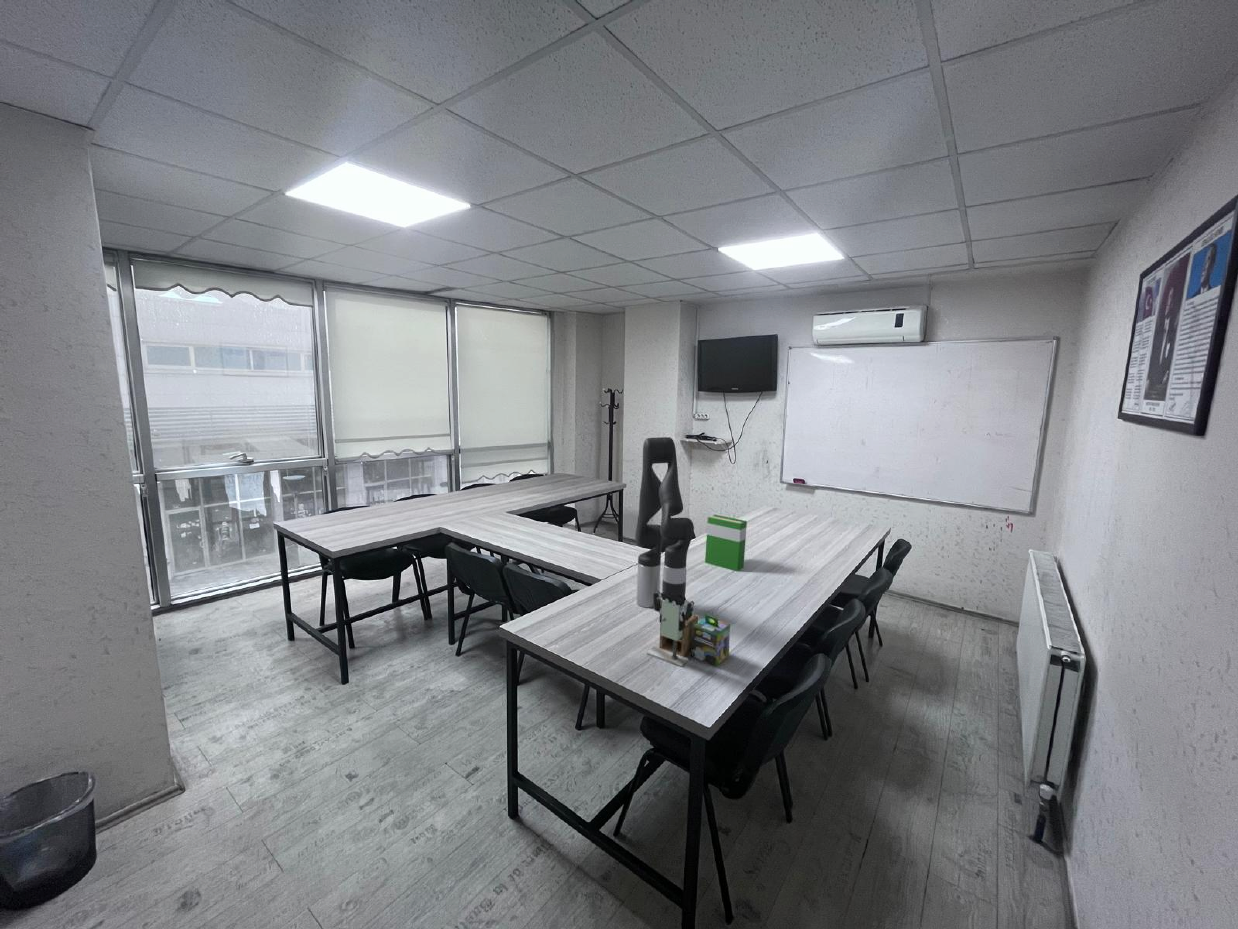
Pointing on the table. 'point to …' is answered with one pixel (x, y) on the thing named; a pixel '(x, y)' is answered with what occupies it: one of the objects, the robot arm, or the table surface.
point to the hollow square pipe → (670, 621)
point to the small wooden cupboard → (676, 645)
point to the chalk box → (711, 640)
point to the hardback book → (726, 542)
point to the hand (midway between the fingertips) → (671, 627)
